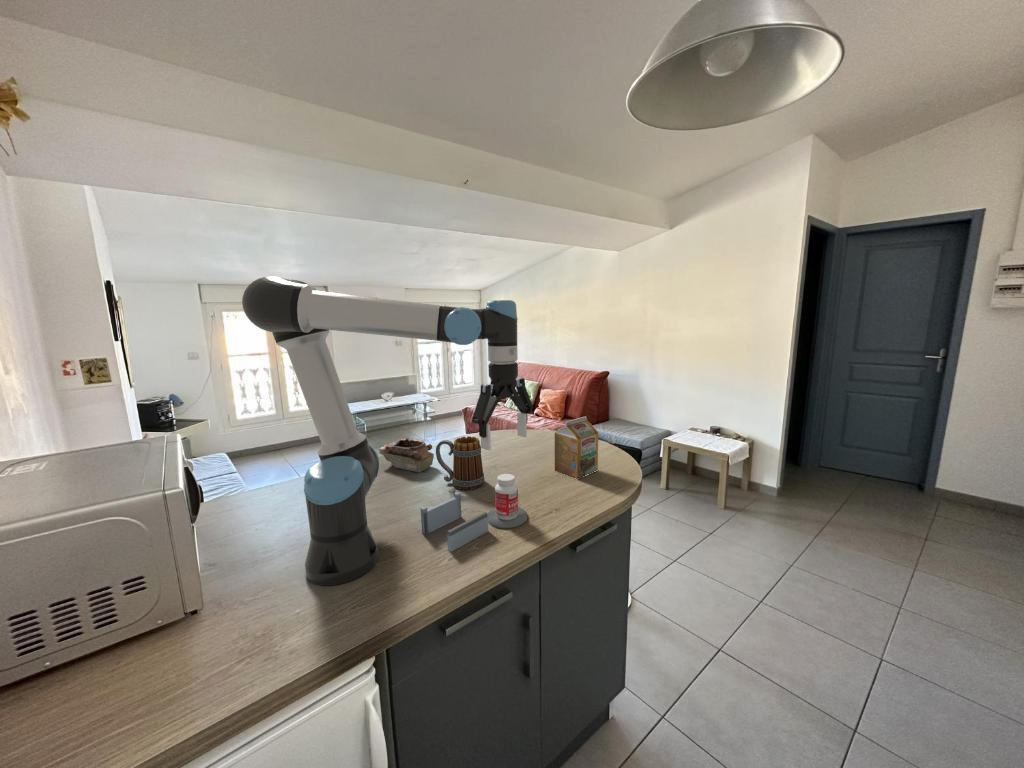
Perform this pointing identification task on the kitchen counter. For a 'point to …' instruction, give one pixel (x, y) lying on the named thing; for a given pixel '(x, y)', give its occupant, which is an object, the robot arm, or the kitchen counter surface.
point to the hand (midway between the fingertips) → (504, 442)
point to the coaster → (507, 524)
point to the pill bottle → (506, 497)
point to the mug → (463, 463)
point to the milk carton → (576, 448)
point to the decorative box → (408, 454)
